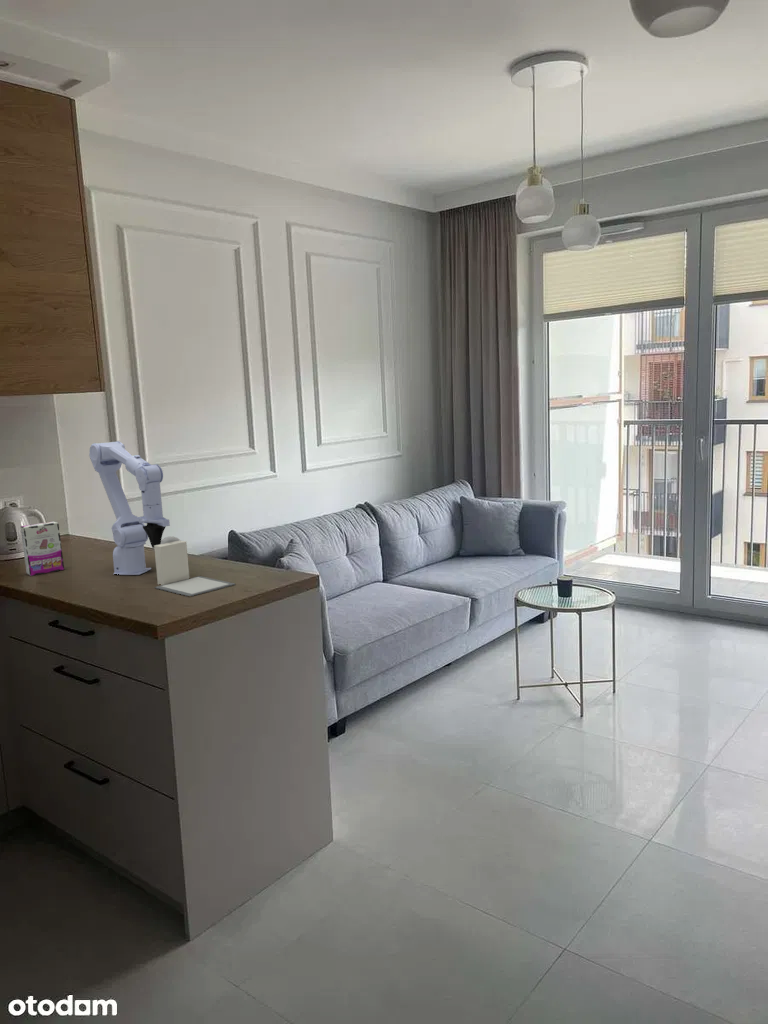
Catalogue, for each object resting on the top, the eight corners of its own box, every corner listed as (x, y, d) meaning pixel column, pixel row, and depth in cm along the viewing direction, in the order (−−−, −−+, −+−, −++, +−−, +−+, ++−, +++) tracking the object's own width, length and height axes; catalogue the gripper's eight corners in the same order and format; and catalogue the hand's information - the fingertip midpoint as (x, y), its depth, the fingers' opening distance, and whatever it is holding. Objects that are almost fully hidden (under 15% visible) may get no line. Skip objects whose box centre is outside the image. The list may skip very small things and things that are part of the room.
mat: (154, 588, 226) (154, 586, 226) (200, 577, 238) (199, 575, 238) (189, 597, 214) (189, 595, 214) (235, 584, 226) (235, 583, 226)
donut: (160, 569, 252) (158, 539, 250) (155, 567, 254) (152, 538, 253) (187, 563, 259) (184, 534, 257) (182, 562, 261) (179, 533, 260)
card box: (157, 584, 231) (153, 545, 229) (183, 577, 238) (179, 540, 236) (164, 585, 229) (160, 546, 227) (189, 579, 236) (186, 541, 234)
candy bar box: (60, 567, 261) (54, 520, 258) (64, 570, 257) (59, 522, 254) (25, 573, 254) (19, 525, 251) (29, 576, 250) (23, 527, 247)
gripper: (128, 504, 237) (132, 547, 239) (153, 507, 227) (157, 552, 230) (148, 501, 242) (152, 543, 244) (173, 504, 233) (177, 547, 235)
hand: (156, 547), depth 237 cm, fingers closed
